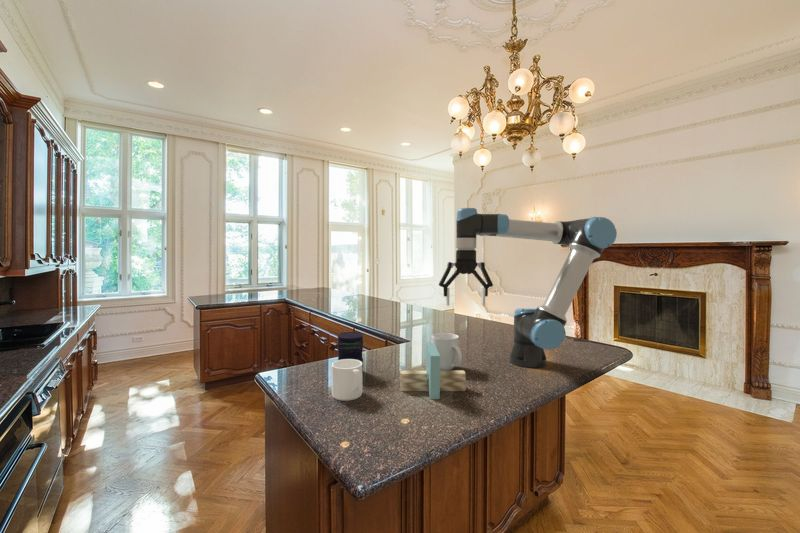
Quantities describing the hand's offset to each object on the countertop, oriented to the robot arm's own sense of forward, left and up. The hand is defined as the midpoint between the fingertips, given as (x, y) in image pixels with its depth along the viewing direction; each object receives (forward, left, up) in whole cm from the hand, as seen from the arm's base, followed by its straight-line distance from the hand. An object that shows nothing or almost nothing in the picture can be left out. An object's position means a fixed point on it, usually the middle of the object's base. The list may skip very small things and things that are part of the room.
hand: (465, 305), depth 135 cm
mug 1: (+42, +20, -27) cm, 54 cm away
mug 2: (+6, -6, -27) cm, 28 cm away
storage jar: (+44, -1, -27) cm, 52 cm away
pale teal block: (+14, +15, -27) cm, 34 cm away
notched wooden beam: (+14, +15, -27) cm, 34 cm away
